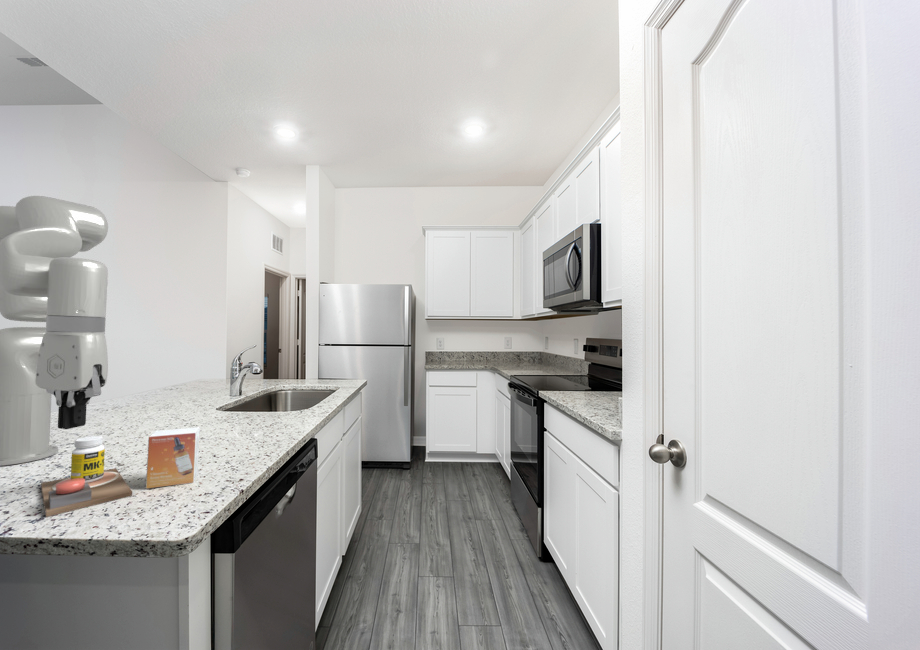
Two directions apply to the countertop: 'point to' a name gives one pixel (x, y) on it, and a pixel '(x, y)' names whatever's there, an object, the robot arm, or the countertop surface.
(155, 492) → the countertop surface
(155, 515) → the countertop surface
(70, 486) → the button
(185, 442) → the small box
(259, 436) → the countertop surface
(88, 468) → the supplement bottle
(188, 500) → the countertop surface
